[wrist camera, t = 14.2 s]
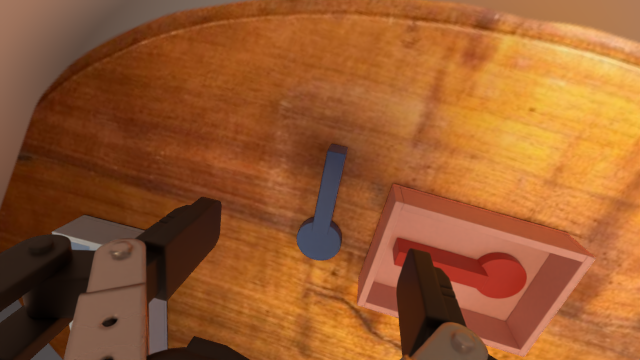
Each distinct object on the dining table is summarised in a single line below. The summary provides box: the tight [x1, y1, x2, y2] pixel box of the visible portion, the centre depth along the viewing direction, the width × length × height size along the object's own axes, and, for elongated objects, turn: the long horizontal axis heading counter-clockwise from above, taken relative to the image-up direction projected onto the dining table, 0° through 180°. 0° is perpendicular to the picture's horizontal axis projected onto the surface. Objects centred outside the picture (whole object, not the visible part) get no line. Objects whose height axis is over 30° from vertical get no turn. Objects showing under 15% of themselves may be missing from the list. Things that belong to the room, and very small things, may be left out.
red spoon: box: [392, 237, 527, 299], centre depth 25 cm, size 11×4×2 cm, turn 77°
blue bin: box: [52, 215, 167, 354], centre depth 34 cm, size 25×9×4 cm, turn 170°
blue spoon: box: [297, 144, 348, 260], centre depth 26 cm, size 11×4×2 cm, turn 170°
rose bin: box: [357, 184, 596, 357], centre depth 25 cm, size 14×10×4 cm
